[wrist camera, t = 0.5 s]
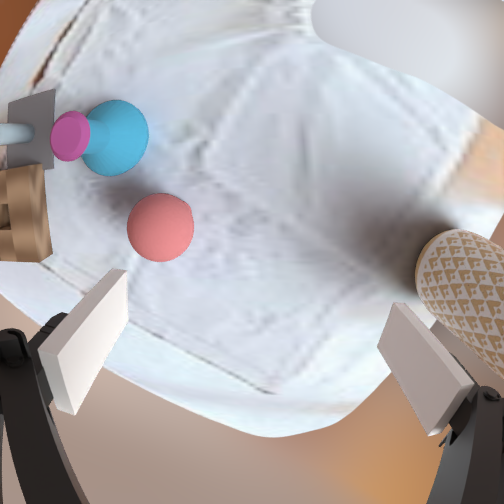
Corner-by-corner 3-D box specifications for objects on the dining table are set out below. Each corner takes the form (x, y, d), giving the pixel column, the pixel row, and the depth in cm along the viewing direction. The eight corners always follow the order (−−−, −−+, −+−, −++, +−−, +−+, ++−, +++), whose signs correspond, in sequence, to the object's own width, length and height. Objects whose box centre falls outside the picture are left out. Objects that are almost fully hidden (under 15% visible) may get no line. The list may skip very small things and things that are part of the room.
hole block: (-13, 173, 36) (-28, 177, 32) (43, 163, 36) (28, 165, 32) (-3, 252, 40) (-16, 260, 36) (52, 253, 40) (39, 262, 37)
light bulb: (141, 204, 39) (103, 226, 27) (183, 174, 38) (158, 183, 26) (171, 248, 41) (145, 284, 29) (214, 219, 40) (202, 247, 28)
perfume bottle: (152, 96, 34) (103, 70, 20) (163, 163, 37) (118, 172, 23) (90, 116, 34) (24, 107, 20) (101, 180, 37) (38, 198, 23)
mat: (10, 103, 32) (8, 103, 32) (55, 89, 33) (53, 89, 32) (9, 175, 36) (7, 175, 36) (53, 168, 36) (52, 168, 36)
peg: (21, 125, 33) (-32, 126, 22) (35, 122, 34) (-19, 121, 22) (21, 144, 34) (-32, 149, 23) (34, 141, 34) (-20, 145, 23)
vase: (440, 313, 46) (546, 430, 17) (389, 283, 43) (515, 428, 14) (480, 246, 42) (612, 330, 13) (434, 205, 40) (604, 287, 10)
